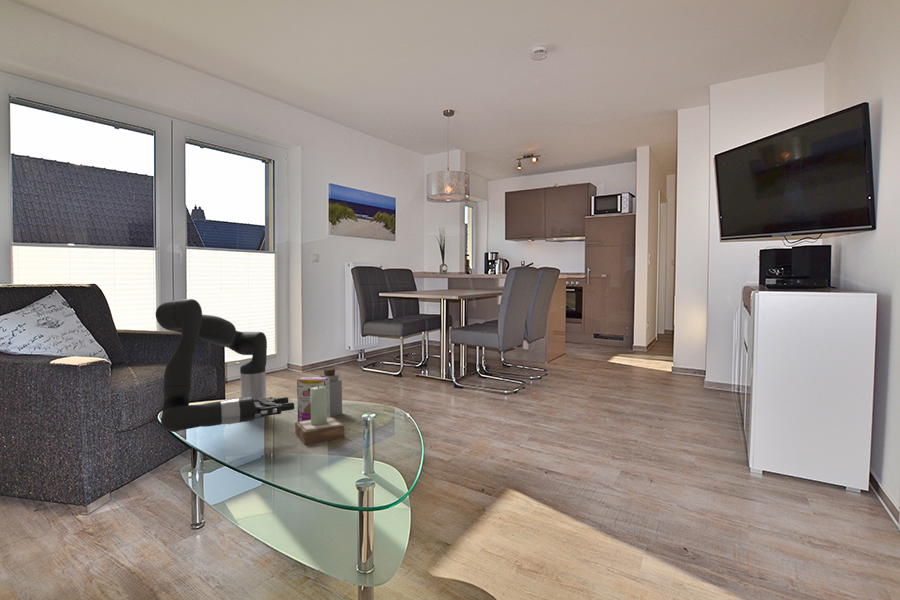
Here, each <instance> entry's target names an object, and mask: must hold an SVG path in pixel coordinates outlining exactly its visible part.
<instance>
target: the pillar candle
mask: <svg viewBox="0 0 900 600" xmlns="http://www.w3.org/2000/svg"><path fill="white" fill-rule="evenodd" d="M310 400H311V425H323V424H326V423H327V405H326V387H324V386H319V385H318V387H312V388H310Z"/></svg>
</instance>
